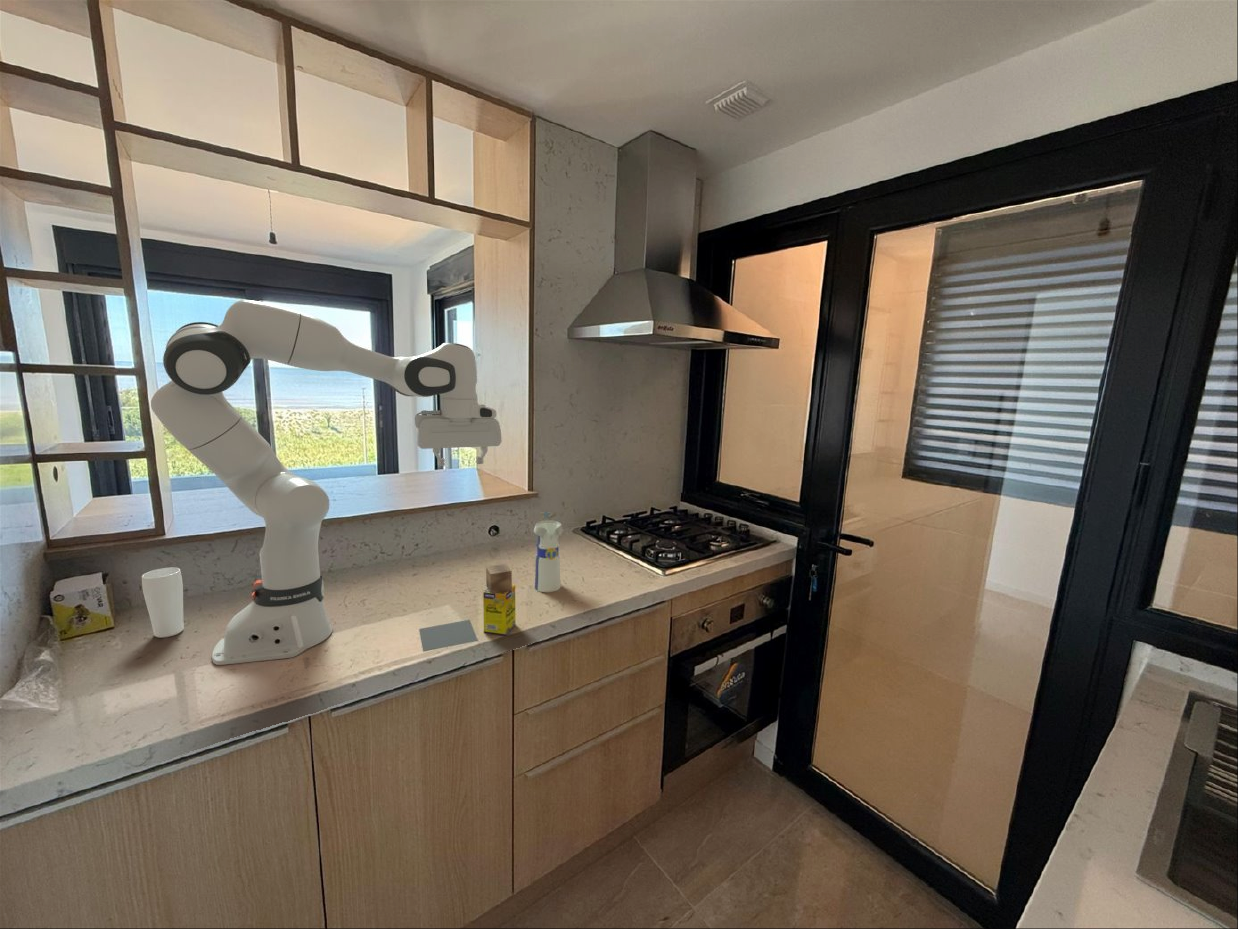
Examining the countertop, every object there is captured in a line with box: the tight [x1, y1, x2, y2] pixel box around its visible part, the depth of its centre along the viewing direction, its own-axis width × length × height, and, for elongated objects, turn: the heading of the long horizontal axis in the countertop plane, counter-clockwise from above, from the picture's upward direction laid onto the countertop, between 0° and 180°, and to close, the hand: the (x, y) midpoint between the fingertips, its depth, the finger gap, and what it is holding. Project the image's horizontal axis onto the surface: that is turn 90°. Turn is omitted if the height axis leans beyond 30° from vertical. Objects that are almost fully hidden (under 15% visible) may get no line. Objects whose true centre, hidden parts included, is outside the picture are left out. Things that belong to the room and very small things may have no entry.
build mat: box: [418, 619, 479, 652], centre depth 119 cm, size 12×11×1 cm
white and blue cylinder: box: [533, 509, 564, 593], centre depth 146 cm, size 8×9×25 cm
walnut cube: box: [485, 563, 513, 594], centre depth 120 cm, size 5×5×5 cm
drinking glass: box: [141, 566, 185, 639], centre depth 116 cm, size 7×7×15 cm
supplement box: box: [482, 584, 516, 637], centre depth 121 cm, size 6×6×11 cm
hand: (461, 464), depth 126 cm, fingers open, 8 cm apart
